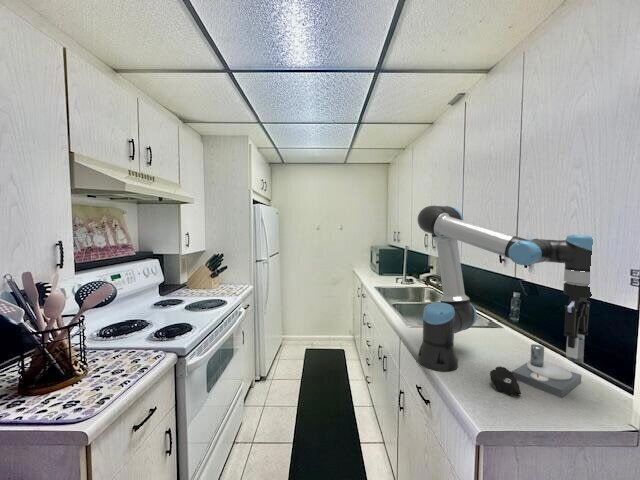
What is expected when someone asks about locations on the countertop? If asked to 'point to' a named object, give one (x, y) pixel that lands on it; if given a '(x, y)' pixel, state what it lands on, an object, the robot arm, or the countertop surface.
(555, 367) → the scale
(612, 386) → the countertop surface
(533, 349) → the cylinder
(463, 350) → the countertop surface
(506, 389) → the rock
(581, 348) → the cylinder
